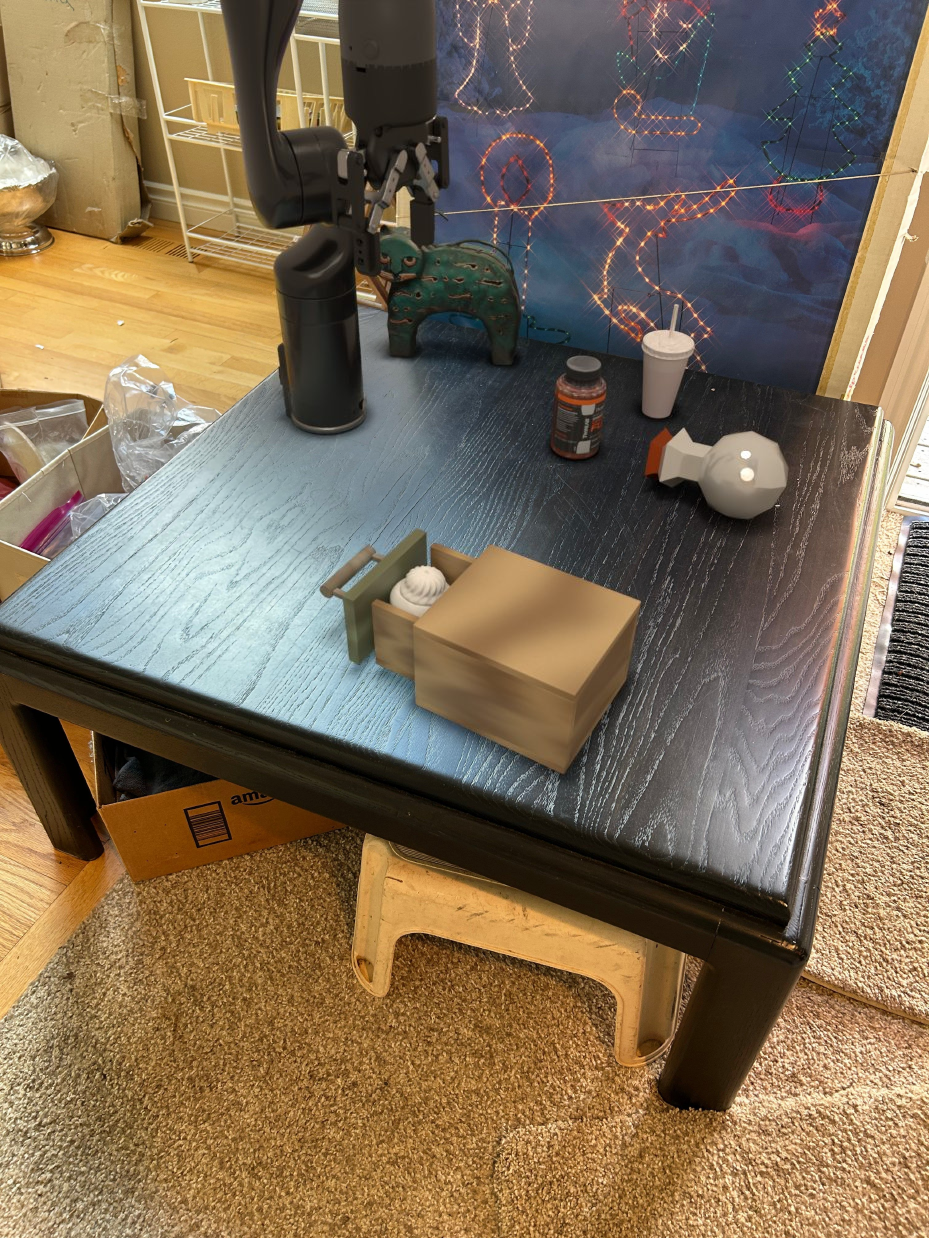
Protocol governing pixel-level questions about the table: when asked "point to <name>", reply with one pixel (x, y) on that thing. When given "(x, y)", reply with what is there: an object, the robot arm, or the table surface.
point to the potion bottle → (723, 470)
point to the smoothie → (664, 368)
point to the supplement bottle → (578, 409)
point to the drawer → (387, 599)
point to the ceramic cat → (448, 289)
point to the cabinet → (524, 655)
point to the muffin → (418, 590)
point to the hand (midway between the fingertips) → (396, 258)
